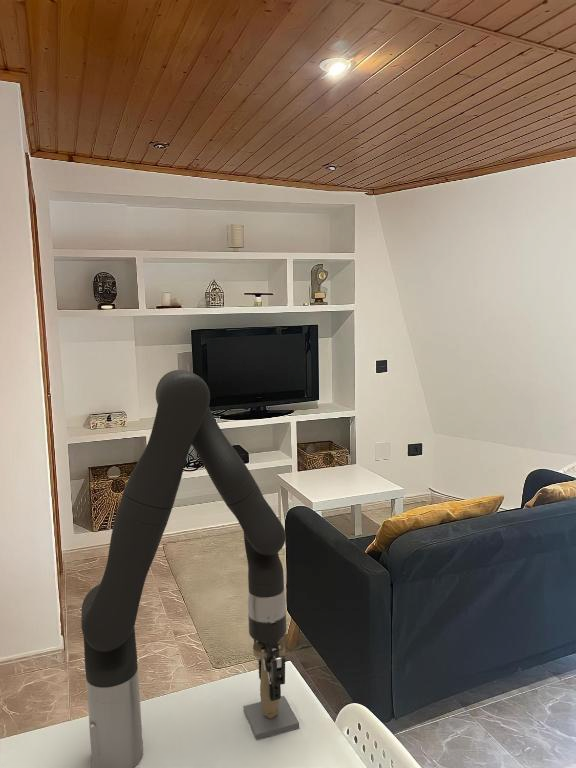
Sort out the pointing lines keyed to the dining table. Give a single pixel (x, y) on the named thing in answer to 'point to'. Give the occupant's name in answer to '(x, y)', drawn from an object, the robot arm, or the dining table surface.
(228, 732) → the dining table surface
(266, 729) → the plate
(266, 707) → the handle
